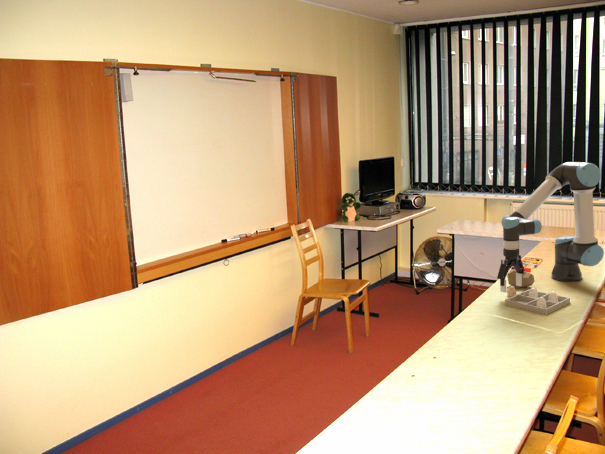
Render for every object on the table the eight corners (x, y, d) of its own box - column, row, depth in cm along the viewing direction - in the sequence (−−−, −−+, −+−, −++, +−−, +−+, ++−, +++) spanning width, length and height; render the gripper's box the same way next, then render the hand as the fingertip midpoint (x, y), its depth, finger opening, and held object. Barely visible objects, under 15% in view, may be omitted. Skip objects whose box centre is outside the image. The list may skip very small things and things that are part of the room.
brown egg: (510, 294, 271) (510, 284, 270) (518, 296, 268) (517, 285, 267) (505, 296, 269) (505, 286, 268) (513, 298, 265) (513, 287, 264)
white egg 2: (539, 306, 250) (539, 295, 249) (548, 308, 247) (548, 296, 245) (534, 308, 248) (534, 297, 246) (543, 310, 244) (543, 299, 243)
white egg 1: (531, 296, 264) (531, 285, 263) (539, 298, 260) (539, 287, 259) (526, 298, 262) (526, 287, 260) (534, 300, 258) (534, 289, 257)
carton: (529, 295, 268) (529, 289, 268) (570, 303, 252) (570, 297, 251) (505, 305, 257) (505, 299, 256) (546, 315, 240) (546, 309, 239)
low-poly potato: (500, 286, 286) (507, 282, 275) (503, 267, 289) (510, 263, 278) (529, 293, 284) (536, 289, 273) (531, 274, 287) (539, 269, 276)
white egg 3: (551, 301, 256) (551, 289, 255) (559, 302, 252) (559, 291, 251) (546, 303, 253) (546, 292, 252) (554, 305, 250) (555, 293, 249)
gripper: (518, 242, 274) (518, 281, 278) (489, 251, 260) (489, 292, 263) (532, 244, 268) (531, 284, 271) (503, 253, 254) (503, 295, 257)
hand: (511, 288), depth 267 cm, fingers open, 13 cm apart
